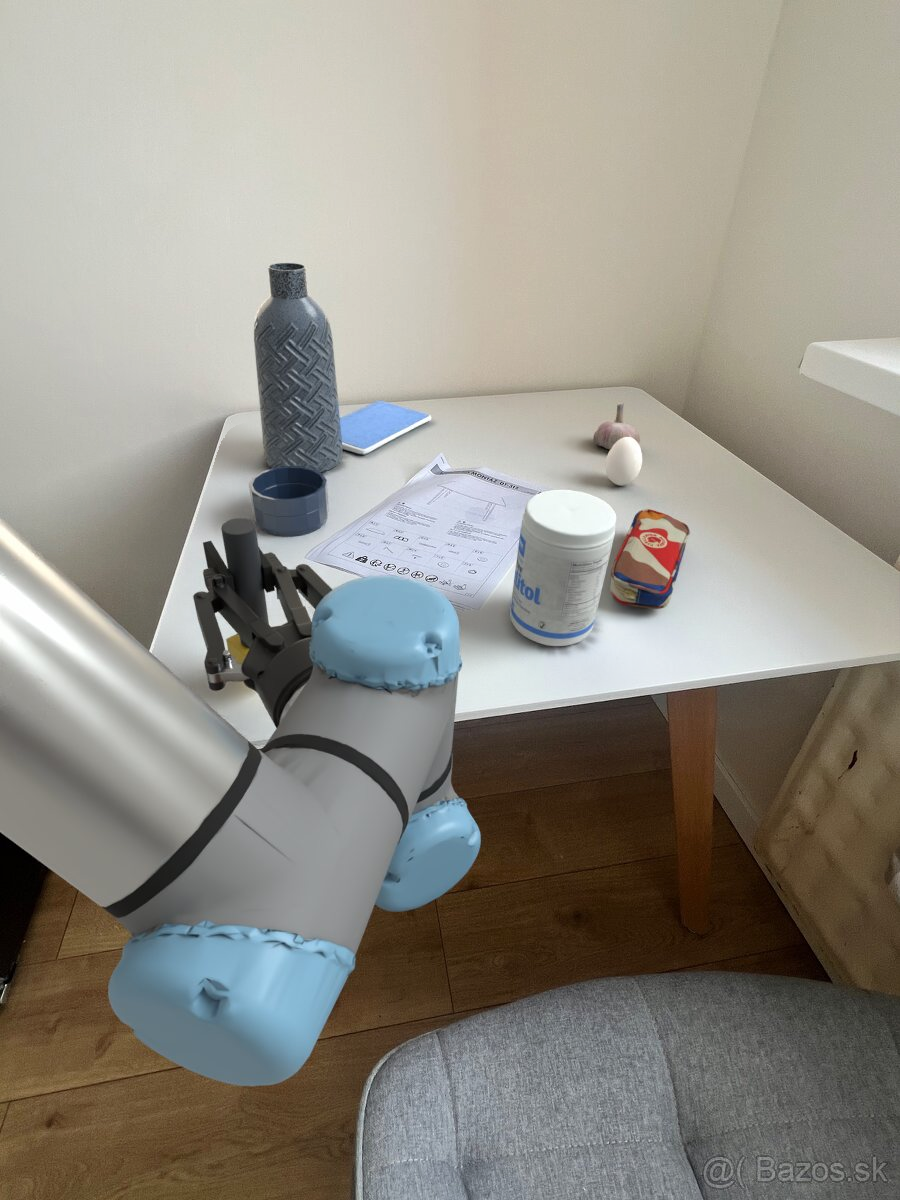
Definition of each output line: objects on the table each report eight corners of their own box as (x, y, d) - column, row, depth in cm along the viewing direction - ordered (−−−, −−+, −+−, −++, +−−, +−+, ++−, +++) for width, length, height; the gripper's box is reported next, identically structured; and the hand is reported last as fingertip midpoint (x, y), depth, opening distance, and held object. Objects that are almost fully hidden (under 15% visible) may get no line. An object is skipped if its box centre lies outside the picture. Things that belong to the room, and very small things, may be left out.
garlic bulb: (584, 443, 120) (591, 398, 116) (616, 436, 123) (625, 392, 119) (612, 460, 115) (621, 414, 110) (645, 453, 118) (656, 407, 113)
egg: (626, 474, 111) (635, 429, 107) (643, 490, 107) (653, 443, 102) (596, 478, 110) (604, 432, 105) (612, 493, 106) (621, 446, 101)
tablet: (364, 458, 112) (364, 450, 112) (307, 437, 118) (306, 430, 117) (433, 422, 125) (433, 415, 125) (379, 405, 131) (378, 398, 130)
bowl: (240, 517, 96) (234, 480, 92) (300, 494, 102) (296, 459, 98) (283, 545, 90) (278, 508, 87) (343, 519, 96) (341, 483, 93)
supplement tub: (492, 613, 80) (503, 500, 72) (555, 589, 85) (573, 480, 76) (546, 661, 74) (565, 543, 65) (611, 633, 78) (637, 518, 70)
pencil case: (715, 557, 92) (725, 524, 89) (653, 627, 79) (663, 592, 76) (638, 528, 97) (646, 496, 94) (569, 591, 85) (575, 556, 82)
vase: (346, 474, 107) (335, 276, 91) (265, 478, 105) (239, 276, 88) (339, 442, 117) (329, 257, 100) (265, 445, 115) (241, 257, 98)
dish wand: (230, 666, 68) (204, 524, 59) (265, 648, 71) (245, 509, 61) (254, 687, 66) (230, 543, 57) (289, 667, 68) (272, 526, 59)
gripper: (224, 783, 49) (148, 604, 65) (421, 705, 56) (309, 561, 72) (206, 707, 44) (130, 534, 60) (424, 633, 51) (304, 496, 67)
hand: (227, 549), depth 66 cm, fingers closed on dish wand, 3 cm apart
